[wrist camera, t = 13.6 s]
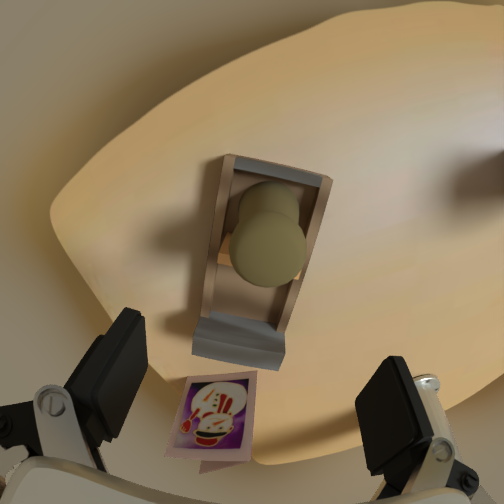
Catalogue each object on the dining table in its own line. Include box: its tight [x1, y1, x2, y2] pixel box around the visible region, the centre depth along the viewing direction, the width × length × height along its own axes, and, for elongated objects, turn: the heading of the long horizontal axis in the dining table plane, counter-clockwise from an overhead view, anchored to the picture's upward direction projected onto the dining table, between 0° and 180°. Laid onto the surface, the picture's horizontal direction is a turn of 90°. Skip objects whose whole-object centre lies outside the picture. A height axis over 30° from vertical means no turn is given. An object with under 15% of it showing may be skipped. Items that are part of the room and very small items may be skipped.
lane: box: [192, 154, 333, 371], centre depth 27 cm, size 21×10×6 cm, turn 169°
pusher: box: [217, 232, 301, 280], centre depth 26 cm, size 1×7×5 cm, turn 78°
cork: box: [228, 181, 307, 288], centre depth 22 cm, size 6×6×11 cm
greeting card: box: [164, 371, 257, 474], centre depth 33 cm, size 11×7×15 cm, turn 105°
